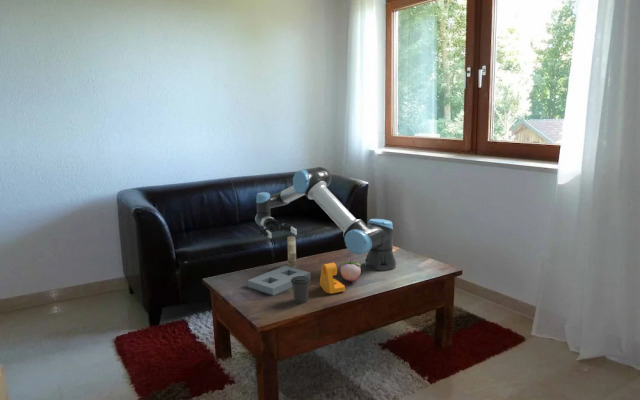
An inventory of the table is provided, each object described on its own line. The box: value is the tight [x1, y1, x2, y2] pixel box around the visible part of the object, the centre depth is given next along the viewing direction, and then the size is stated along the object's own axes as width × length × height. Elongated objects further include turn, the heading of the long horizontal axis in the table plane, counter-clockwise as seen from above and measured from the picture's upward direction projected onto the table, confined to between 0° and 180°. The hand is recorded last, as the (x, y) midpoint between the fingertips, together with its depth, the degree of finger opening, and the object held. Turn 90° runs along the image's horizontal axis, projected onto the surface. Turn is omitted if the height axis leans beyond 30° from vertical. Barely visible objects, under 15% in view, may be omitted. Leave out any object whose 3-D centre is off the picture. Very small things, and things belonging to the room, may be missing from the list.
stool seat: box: [247, 265, 312, 296], centre depth 218 cm, size 24×16×3 cm, turn 140°
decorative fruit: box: [339, 259, 362, 283], centre depth 216 cm, size 9×8×10 cm
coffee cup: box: [291, 276, 311, 304], centre depth 197 cm, size 8×8×10 cm
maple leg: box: [286, 236, 297, 268], centre depth 237 cm, size 4×4×15 cm
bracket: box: [319, 262, 346, 295], centre depth 208 cm, size 11×7×12 cm, turn 24°
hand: (283, 234), depth 245 cm, fingers open, 13 cm apart
